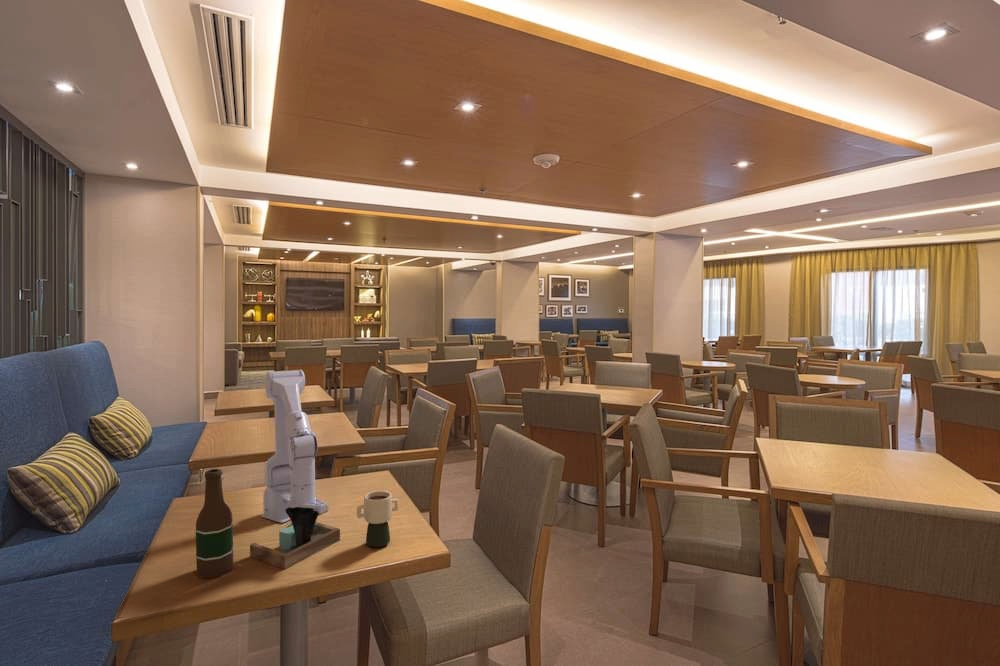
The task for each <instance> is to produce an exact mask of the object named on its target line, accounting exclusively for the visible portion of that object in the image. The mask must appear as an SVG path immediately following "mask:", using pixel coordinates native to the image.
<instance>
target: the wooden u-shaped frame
mask: <svg viewBox="0 0 1000 666" xmlns="http://www.w3.org/2000/svg"><path fill="white" fill-rule="evenodd" d="M319 533H320V534H323V535H322V536H320V537H318V538H316V539H314V540H312V541H310V542H308V543H306V544H304V545H302V546H300V547H298V548H296V549H294V550H292V551H290V552H288V553H286V554H285V553H282V551H278V550H276V549H273V548H270V547H267V546H265V545H261V544H258V543H255V542H253V543H251V544H250V545H249V557H250V558H251V559H252V558H253V559H256V560H259V561H261V562H263V561H264V563H267V564H269V565H272V566H274V567H278V568H280V569H282V570H287V569H289V568H291V567H293V566H294V564H295V563H296V564H298V563H300V562H301V560H302V559H304V560H306V559H307V558H306V557H308V556H309V557H311V556H312V554H313V555H314V553H315V554H316V552H317V553H319V552H320V551H323V550H324V549H326V548H328V547H330V546H331V545H333V544H335V543H337V542H339V541H341V529H340V528H338V527H333V526H331V525H327V524H324V523H321V522H318V521H317V522H315V525H314V529H313V533H312V536H315V535H317V534H319ZM318 551H319V552H318ZM310 555H311V556H310ZM309 557H308V558H309ZM305 558H306V559H305ZM299 561H300V562H299ZM302 561H303V560H302ZM297 562H298V563H297ZM296 564H295V565H296ZM292 565H293V566H292ZM290 566H291V567H290Z"/></svg>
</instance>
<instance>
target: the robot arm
mask: <svg viewBox="0 0 1000 666" xmlns="http://www.w3.org/2000/svg"><path fill="white" fill-rule="evenodd" d="M264 378H265V380H264V381H265V395H266V399H270V400H272V402H273V405H274V441H275V442H274V443H275V445H274V448H275V450H274V454H273V455H272V456H271V457H270V458H268V459H267V460H266V461H265V469H264V482H265V483H264V484H265V487H266V488H265V489H264V491H263V501H262V502H263V503H262V504H263V513H262V514H261V515H260V517H261V518H264V519H267V520H270V521H274V522H278V523H281V524H283V523H286V522H288V521H290V523H291V522H292V524H291V526H292V525H293V528H294V531H295V534H296V524H299V523H301V522H302V527H303V535H304V538H307V537H309V536H311V537H312V536H313V534H312V533H313V529H314V525H315V522H316V521H317V519H318V517H319V516H320V515H322V514H324V512H325V513H327V512H328V511H327V506H328V503H326V502H324V501H322V500H320V499H319V498H317V497H316V459H315V458H316V457H317V456H318V451H319V448H318V447H319V446H318V439H317V435H316V434H315V432H314V431H313V430H311V426H310V421H309V417H308V414H307V413H306V412H304V411H302V403H301V396H300V395H301V394H303V393H304V392H303V391H304V389H305V387H306V377H305V373H304V371H303V369H296V370H294V369H293V370H280V371H278V370H277V371H271V370H270V371H267V372H266V374H265V377H264ZM326 511H327V512H326ZM319 513H320V515H319Z"/></svg>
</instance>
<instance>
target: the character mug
mask: <svg viewBox="0 0 1000 666" xmlns="http://www.w3.org/2000/svg"><path fill="white" fill-rule="evenodd" d="M363 497H364V498H363V504H359V505H358V506H357V507H356V517H357V519H361V518H364V521H365V522H366V523H368V524H367V527H366V528H367V529H366V535H365V536H366V539H365V544H367V545H368V546H371V547H375V548H380V547H381V548H382V547H384V546H386V545H388V544H389V543H390V542H391V535H390V527H389V521H390V520H391V519H392V516H393V512H396V511H398V510H399V500H398V498H392V497H393V496H392V493H391V492H390V491H386V490H374V491H370V492H367V493H366V494H364V495H363ZM393 504H394V507H393ZM362 509H363V513H362Z"/></svg>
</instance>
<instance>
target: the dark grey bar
mask: <svg viewBox="0 0 1000 666" xmlns="http://www.w3.org/2000/svg"><path fill="white" fill-rule="evenodd" d="M322 535H323V534H320V533H319V534H317V535H311V536H309V537H307V538H304V535H303V527H302V522H301V523H299V524H296V545H294V546H292V547H290V548H288V549H286V550H282V551H281V552H282V553H285V554H286V553H288V552H290V551H292V550H294V549H296V548H298V547H300V546H302V545H304V544H306V543H308V542H310V541H312V540H314V539H316V538H318V537H320V536H322Z"/></svg>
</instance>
